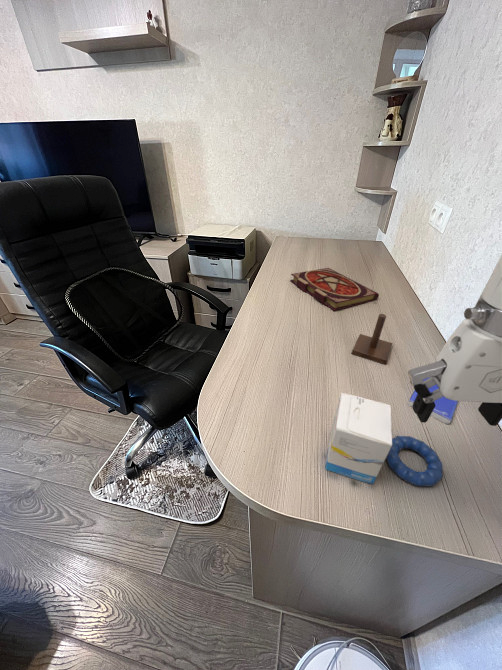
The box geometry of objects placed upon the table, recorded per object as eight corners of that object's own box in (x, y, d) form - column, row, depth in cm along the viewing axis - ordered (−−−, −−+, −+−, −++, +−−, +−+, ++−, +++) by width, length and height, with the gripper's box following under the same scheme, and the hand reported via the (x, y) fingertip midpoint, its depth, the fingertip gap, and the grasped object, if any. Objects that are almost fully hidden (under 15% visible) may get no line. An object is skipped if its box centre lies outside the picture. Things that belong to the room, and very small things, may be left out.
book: (377, 301, 103) (380, 288, 101) (332, 312, 96) (335, 299, 93) (328, 274, 124) (330, 263, 122) (288, 281, 116) (289, 270, 114)
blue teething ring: (440, 454, 52) (445, 447, 51) (438, 499, 46) (444, 492, 44) (388, 433, 56) (391, 426, 55) (379, 471, 49) (383, 464, 48)
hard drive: (451, 419, 57) (463, 387, 64) (409, 399, 61) (424, 371, 69) (448, 424, 58) (460, 391, 65) (407, 404, 62) (422, 375, 70)
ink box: (374, 486, 47) (394, 445, 41) (323, 469, 50) (335, 428, 43) (374, 444, 54) (391, 403, 47) (330, 431, 56) (340, 390, 50)
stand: (391, 347, 79) (403, 312, 73) (385, 365, 73) (399, 328, 66) (359, 337, 83) (368, 304, 77) (351, 354, 77) (360, 318, 70)
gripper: (452, 334, 29) (402, 435, 39) (628, 340, 28) (532, 441, 38) (420, 301, 35) (384, 395, 45) (564, 304, 34) (495, 399, 44)
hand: (452, 416), depth 41 cm, fingers open, 9 cm apart
